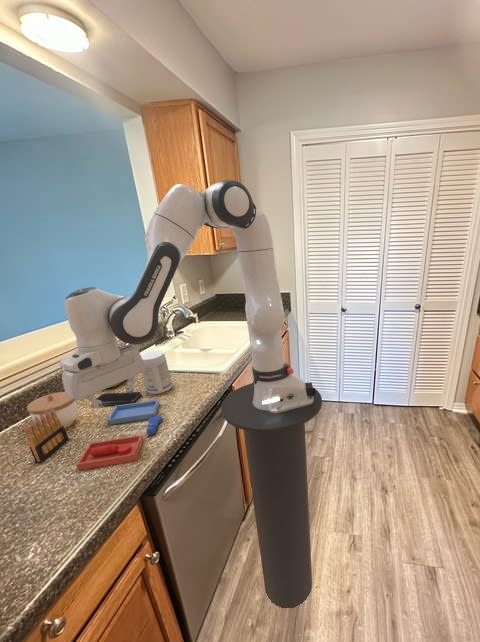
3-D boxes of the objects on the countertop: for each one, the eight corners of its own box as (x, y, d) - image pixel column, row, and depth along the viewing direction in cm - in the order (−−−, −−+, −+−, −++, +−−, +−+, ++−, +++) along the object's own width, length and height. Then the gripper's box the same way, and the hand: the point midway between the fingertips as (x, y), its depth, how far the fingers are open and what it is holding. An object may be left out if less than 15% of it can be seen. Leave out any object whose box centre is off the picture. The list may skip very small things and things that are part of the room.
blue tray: (159, 404, 116) (158, 399, 116) (154, 418, 108) (153, 413, 107) (117, 410, 114) (115, 405, 113) (108, 425, 105) (107, 420, 104)
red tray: (143, 439, 96) (142, 434, 96) (136, 460, 88) (134, 454, 87) (91, 448, 94) (89, 442, 93) (78, 470, 85) (76, 464, 84)
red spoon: (94, 452, 91) (91, 444, 90) (133, 446, 93) (130, 438, 92) (89, 460, 88) (86, 452, 87) (130, 453, 90) (127, 446, 89)
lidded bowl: (89, 412, 113) (79, 384, 109) (73, 432, 102) (62, 401, 97) (48, 417, 111) (37, 389, 107) (29, 439, 100) (14, 408, 95)
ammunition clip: (41, 462, 89) (25, 425, 84) (35, 462, 89) (18, 425, 84) (69, 439, 98) (55, 405, 94) (63, 439, 99) (49, 405, 94)
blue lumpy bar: (144, 437, 97) (142, 430, 96) (151, 419, 107) (149, 413, 106) (157, 435, 98) (155, 428, 97) (162, 418, 107) (161, 411, 106)
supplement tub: (169, 381, 134) (161, 348, 128) (175, 389, 127) (167, 354, 121) (144, 388, 129) (135, 354, 123) (149, 397, 122) (139, 361, 116)
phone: (131, 401, 116) (90, 403, 117) (132, 404, 117) (91, 406, 117) (141, 391, 124) (103, 393, 124) (142, 394, 124) (103, 395, 124)
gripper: (129, 339, 93) (141, 382, 99) (51, 364, 77) (71, 414, 83) (143, 341, 90) (154, 385, 96) (65, 368, 74) (84, 419, 80)
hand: (115, 399), depth 89 cm, fingers open, 8 cm apart
